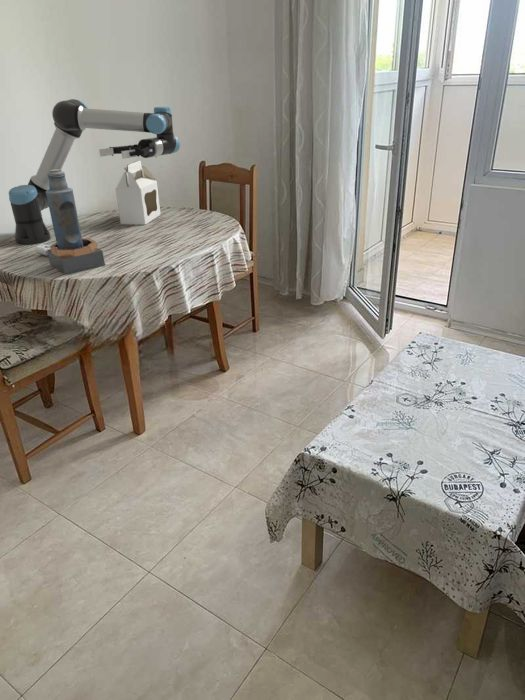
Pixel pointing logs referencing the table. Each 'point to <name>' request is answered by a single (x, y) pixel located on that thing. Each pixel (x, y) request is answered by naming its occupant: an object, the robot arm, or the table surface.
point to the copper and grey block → (76, 257)
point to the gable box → (137, 196)
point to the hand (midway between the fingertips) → (111, 154)
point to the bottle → (63, 211)
